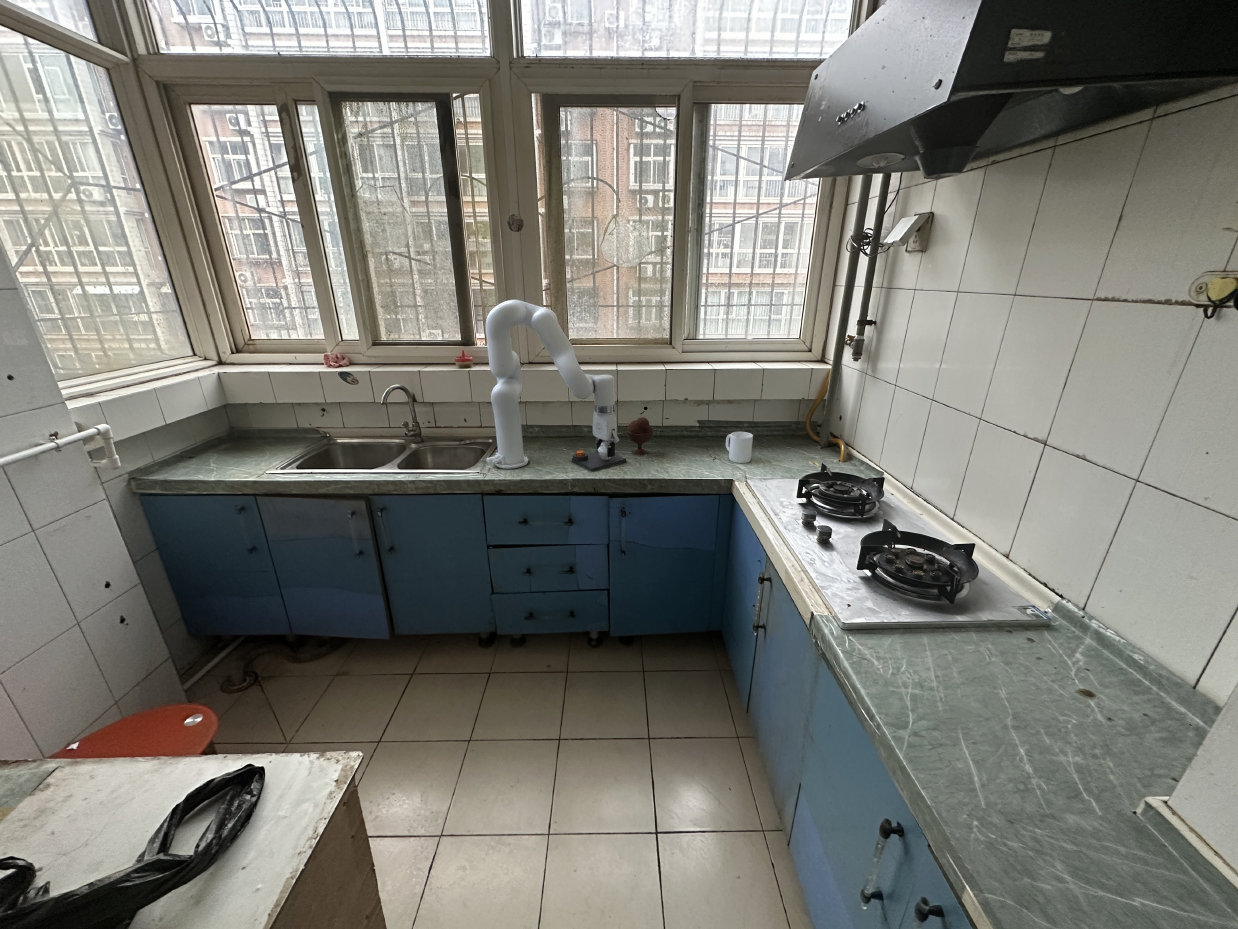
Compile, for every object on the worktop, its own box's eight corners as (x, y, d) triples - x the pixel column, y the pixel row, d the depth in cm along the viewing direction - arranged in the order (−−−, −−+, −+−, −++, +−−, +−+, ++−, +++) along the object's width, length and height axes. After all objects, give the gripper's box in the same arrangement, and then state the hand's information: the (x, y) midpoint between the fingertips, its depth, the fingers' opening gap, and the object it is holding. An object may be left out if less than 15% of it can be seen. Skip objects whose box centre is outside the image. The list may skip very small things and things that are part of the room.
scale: (591, 472, 183) (591, 464, 182) (570, 461, 193) (570, 454, 192) (626, 462, 192) (626, 454, 191) (604, 452, 203) (604, 445, 202)
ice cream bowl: (653, 448, 207) (653, 413, 201) (652, 457, 196) (652, 421, 191) (627, 447, 208) (627, 413, 202) (625, 457, 197) (625, 420, 192)
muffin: (602, 462, 188) (601, 444, 186) (595, 457, 193) (594, 440, 191) (616, 459, 191) (616, 442, 188) (609, 454, 196) (609, 438, 193)
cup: (739, 465, 188) (742, 439, 184) (717, 456, 197) (719, 431, 194) (755, 460, 192) (757, 435, 189) (732, 452, 202) (734, 428, 198)
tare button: (579, 457, 190) (579, 453, 190) (575, 455, 192) (575, 451, 192) (585, 455, 192) (585, 451, 191) (581, 453, 194) (581, 449, 193)
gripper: (583, 405, 189) (585, 450, 196) (610, 415, 176) (611, 462, 183) (599, 402, 193) (600, 446, 200) (627, 411, 181) (627, 458, 187)
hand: (605, 453), depth 191 cm, fingers closed on muffin, 6 cm apart
